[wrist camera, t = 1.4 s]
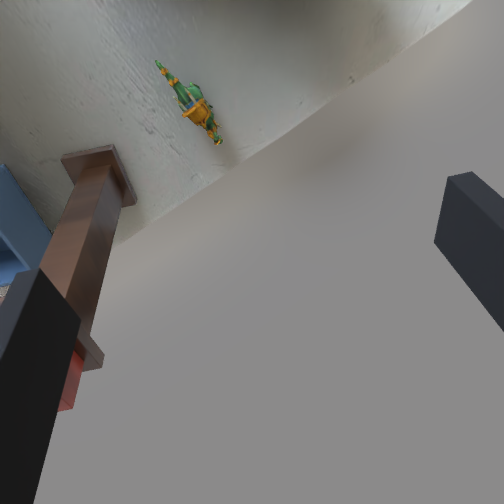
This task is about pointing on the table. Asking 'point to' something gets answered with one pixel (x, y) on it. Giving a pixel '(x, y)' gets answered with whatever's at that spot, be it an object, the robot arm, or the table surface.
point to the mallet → (71, 383)
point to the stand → (87, 238)
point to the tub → (19, 231)
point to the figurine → (193, 105)
